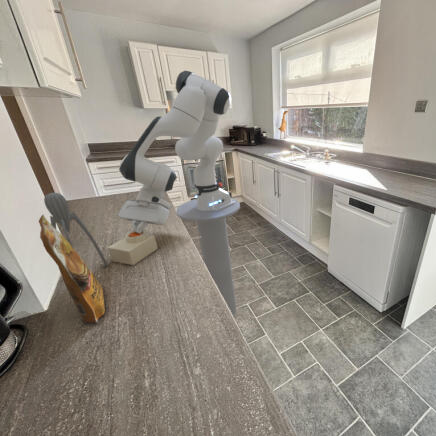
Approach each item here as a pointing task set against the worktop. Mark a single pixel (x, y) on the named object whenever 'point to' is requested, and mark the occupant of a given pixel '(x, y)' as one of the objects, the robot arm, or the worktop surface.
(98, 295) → the pancake mix bag
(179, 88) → the robot arm
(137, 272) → the worktop surface
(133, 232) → the nozzle
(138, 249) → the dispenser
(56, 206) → the citrus juicer
